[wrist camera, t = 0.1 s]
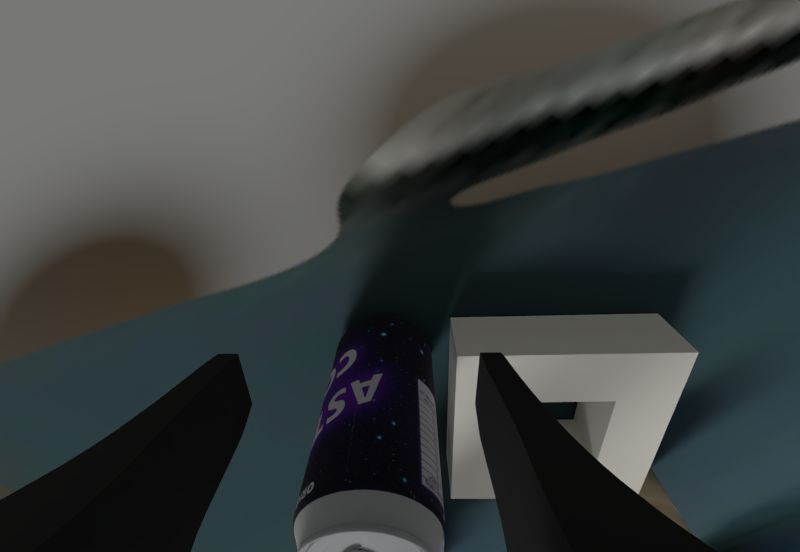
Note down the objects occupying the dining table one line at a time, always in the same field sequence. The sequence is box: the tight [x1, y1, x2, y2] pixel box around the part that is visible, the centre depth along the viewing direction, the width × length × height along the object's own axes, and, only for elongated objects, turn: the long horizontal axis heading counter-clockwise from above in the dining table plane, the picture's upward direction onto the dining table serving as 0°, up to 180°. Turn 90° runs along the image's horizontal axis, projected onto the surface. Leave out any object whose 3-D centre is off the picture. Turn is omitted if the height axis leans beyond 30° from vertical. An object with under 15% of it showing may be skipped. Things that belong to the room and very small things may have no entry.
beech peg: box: [639, 467, 692, 534], centre depth 25 cm, size 4×4×8 cm
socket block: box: [446, 313, 699, 499], centre depth 23 cm, size 12×12×4 cm
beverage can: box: [293, 319, 445, 552], centre depth 18 cm, size 6×6×12 cm
